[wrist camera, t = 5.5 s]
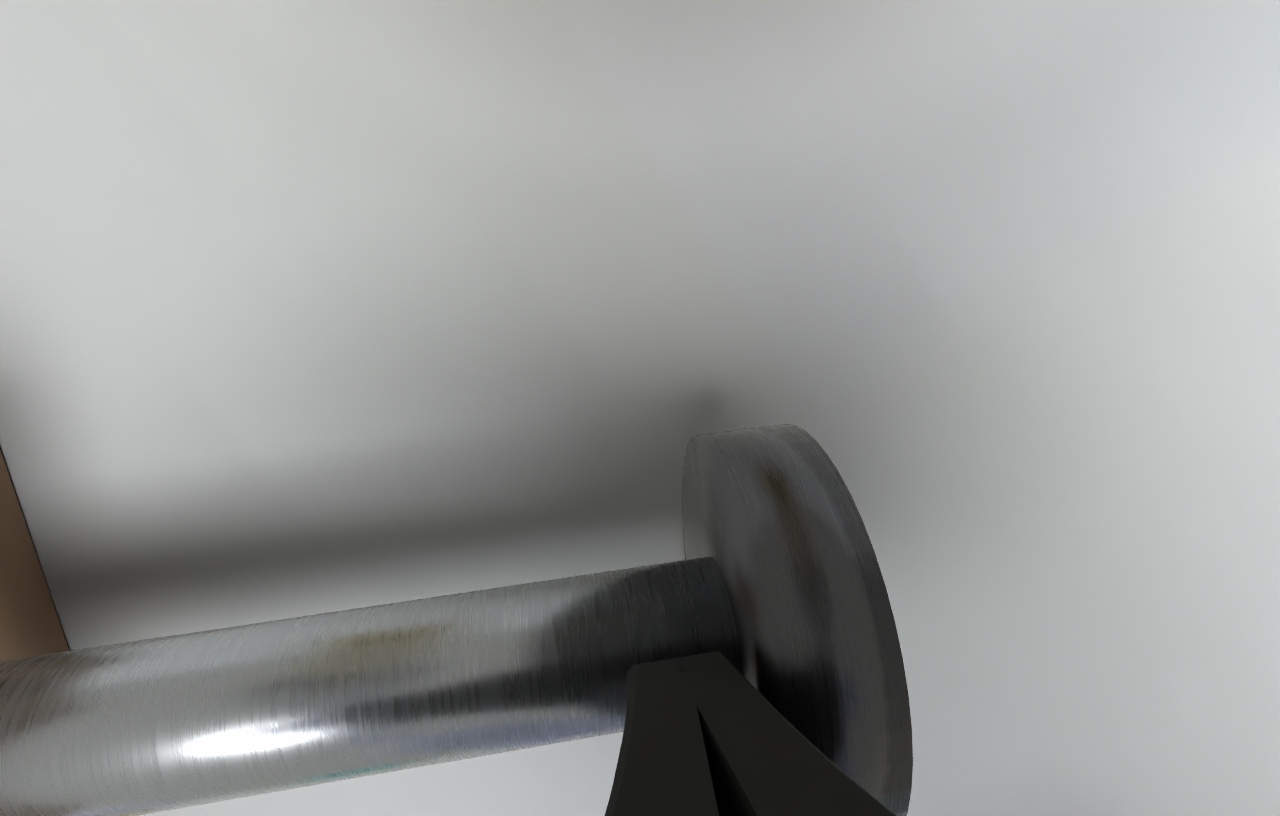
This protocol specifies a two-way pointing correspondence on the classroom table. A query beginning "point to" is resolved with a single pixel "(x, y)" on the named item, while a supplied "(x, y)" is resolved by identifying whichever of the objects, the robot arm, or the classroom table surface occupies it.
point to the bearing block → (23, 586)
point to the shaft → (489, 661)
